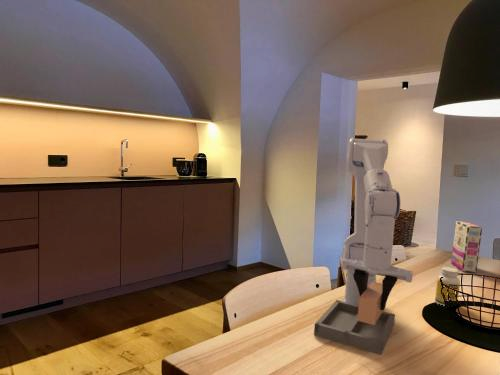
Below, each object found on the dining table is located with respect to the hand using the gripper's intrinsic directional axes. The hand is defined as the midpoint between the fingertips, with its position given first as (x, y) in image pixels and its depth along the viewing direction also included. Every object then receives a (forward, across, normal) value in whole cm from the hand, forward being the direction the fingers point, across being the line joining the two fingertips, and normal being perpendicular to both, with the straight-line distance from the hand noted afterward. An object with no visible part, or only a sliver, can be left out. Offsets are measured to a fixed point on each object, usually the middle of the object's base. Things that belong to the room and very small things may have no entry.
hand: (372, 306), depth 84 cm
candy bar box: (+6, +18, +73) cm, 75 cm away
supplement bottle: (+6, +14, +30) cm, 34 cm away
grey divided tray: (+6, -3, 0) cm, 7 cm away
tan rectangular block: (+1, 0, 0) cm, 1 cm away
